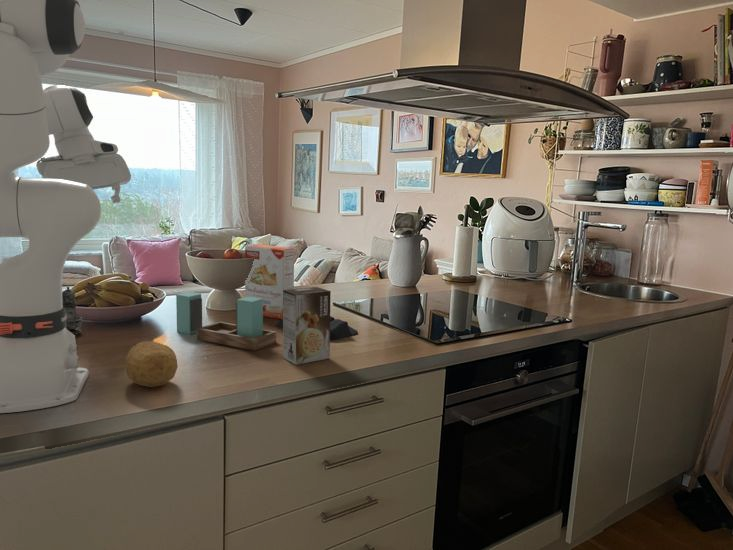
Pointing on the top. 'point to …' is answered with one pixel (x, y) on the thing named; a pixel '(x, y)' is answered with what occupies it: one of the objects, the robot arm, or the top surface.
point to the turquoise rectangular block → (249, 317)
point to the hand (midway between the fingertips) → (98, 206)
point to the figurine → (71, 311)
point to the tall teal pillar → (189, 312)
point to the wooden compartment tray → (234, 336)
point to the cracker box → (270, 276)
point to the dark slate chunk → (334, 329)
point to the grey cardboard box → (306, 324)
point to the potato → (151, 364)
